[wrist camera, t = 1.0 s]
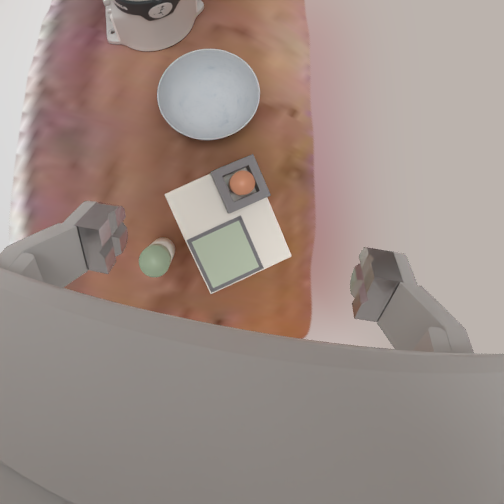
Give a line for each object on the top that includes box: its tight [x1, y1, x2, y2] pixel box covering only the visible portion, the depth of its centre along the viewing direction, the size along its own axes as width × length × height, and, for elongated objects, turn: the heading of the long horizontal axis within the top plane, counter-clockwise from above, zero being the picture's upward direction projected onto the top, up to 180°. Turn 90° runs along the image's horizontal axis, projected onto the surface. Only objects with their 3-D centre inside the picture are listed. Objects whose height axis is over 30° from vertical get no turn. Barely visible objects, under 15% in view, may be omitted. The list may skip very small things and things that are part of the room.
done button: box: [228, 171, 255, 196], centre depth 48 cm, size 4×4×4 cm
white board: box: [165, 154, 291, 294], centre depth 50 cm, size 18×15×4 cm
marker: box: [139, 237, 175, 277], centre depth 45 cm, size 4×4×12 cm
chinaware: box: [157, 49, 260, 140], centre depth 45 cm, size 15×15×8 cm
